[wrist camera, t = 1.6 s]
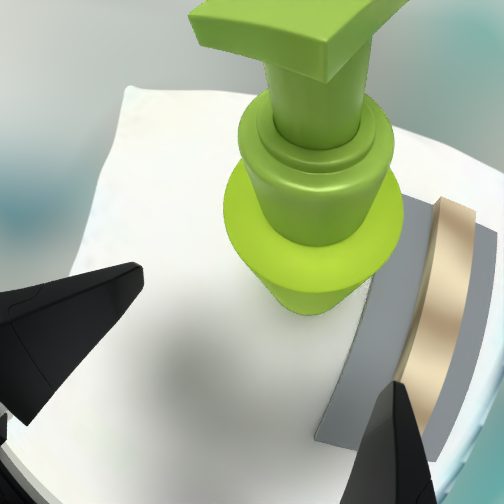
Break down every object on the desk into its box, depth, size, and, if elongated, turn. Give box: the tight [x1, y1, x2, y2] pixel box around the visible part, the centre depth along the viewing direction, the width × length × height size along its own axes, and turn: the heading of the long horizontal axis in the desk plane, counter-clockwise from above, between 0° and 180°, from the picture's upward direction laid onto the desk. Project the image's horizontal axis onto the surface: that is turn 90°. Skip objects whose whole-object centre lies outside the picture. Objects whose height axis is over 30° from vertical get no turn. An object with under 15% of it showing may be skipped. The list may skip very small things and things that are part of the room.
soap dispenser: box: [188, 0, 409, 315], centre depth 12 cm, size 6×7×20 cm
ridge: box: [392, 197, 476, 436], centre depth 17 cm, size 20×4×2 cm, turn 159°
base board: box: [314, 194, 497, 462], centre depth 18 cm, size 20×11×1 cm, turn 159°
